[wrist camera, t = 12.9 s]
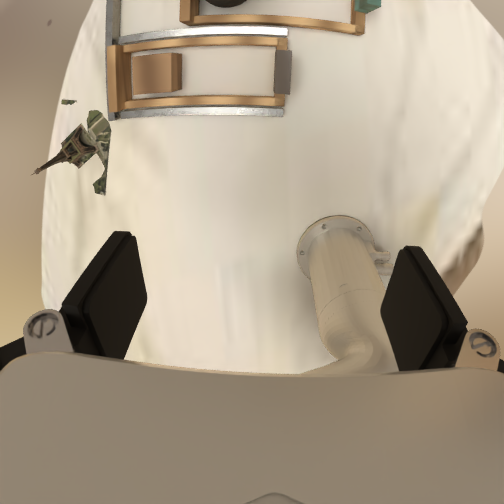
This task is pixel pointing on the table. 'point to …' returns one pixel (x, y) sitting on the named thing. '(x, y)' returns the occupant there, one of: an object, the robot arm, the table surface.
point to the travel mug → (225, 2)
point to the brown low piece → (281, 18)
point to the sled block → (123, 95)
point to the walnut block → (157, 73)
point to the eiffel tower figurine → (86, 145)
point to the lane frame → (115, 39)
